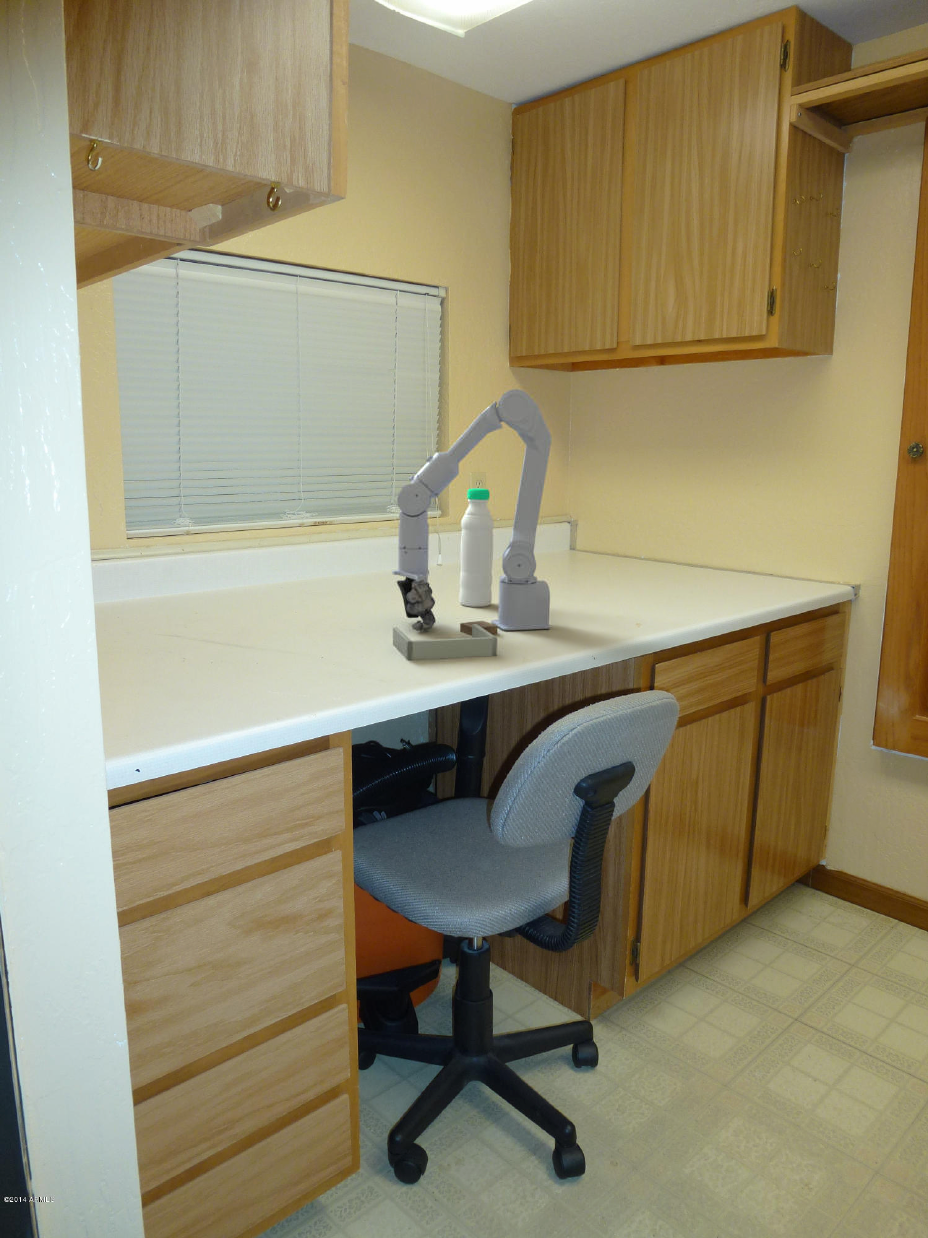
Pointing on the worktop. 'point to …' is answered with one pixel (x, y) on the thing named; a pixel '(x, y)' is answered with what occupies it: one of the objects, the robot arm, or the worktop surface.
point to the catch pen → (447, 645)
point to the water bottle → (476, 551)
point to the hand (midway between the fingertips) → (412, 617)
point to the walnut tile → (487, 626)
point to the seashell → (421, 605)
